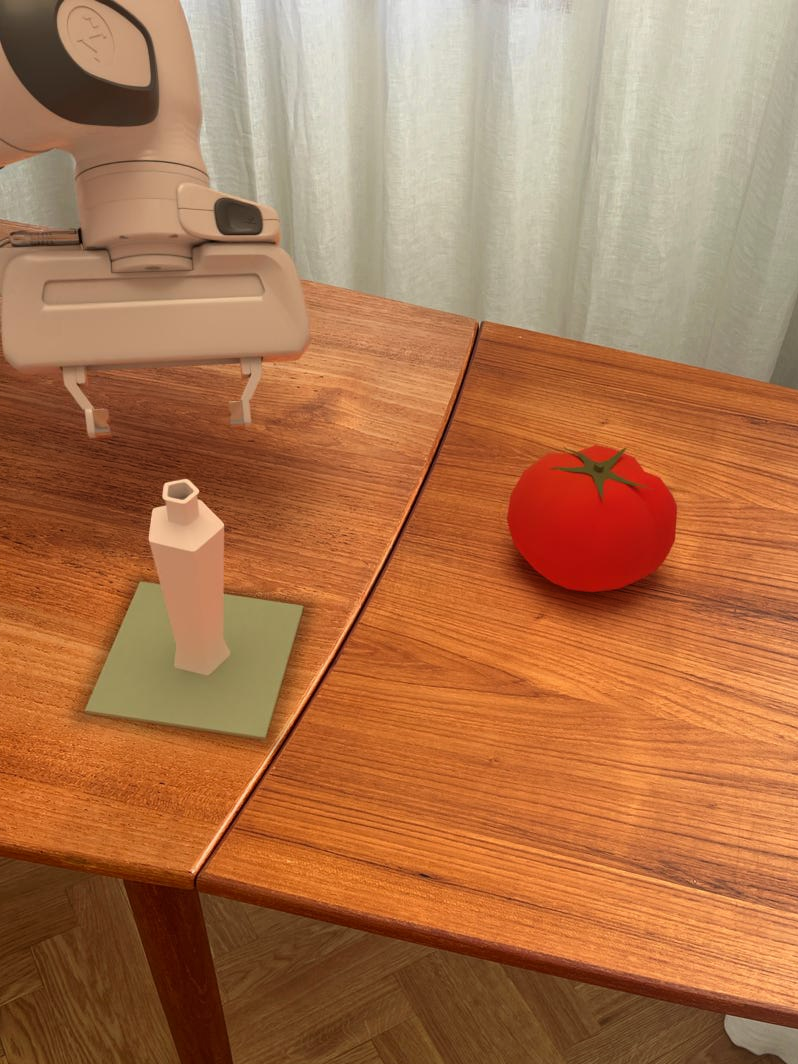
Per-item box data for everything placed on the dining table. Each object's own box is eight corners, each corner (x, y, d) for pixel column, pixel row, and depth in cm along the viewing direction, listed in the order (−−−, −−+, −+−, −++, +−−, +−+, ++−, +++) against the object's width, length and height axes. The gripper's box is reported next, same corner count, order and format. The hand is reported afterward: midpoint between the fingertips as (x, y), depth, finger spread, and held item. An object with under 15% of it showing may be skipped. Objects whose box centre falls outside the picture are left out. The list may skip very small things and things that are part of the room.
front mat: (85, 715, 76) (84, 710, 75) (140, 586, 84) (139, 580, 83) (265, 742, 76) (265, 737, 75) (303, 610, 84) (303, 605, 83)
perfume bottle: (152, 648, 79) (123, 485, 68) (207, 620, 81) (188, 457, 70) (188, 690, 77) (164, 529, 66) (244, 660, 79) (230, 499, 68)
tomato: (662, 629, 86) (694, 530, 79) (494, 605, 86) (510, 504, 78) (660, 527, 94) (690, 428, 86) (506, 506, 93) (522, 404, 86)
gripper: (-24, 217, 73) (3, 438, 74) (301, 210, 77) (321, 418, 78) (-7, 244, 79) (18, 447, 80) (293, 235, 83) (313, 428, 85)
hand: (171, 432), depth 79 cm, fingers open, 8 cm apart
